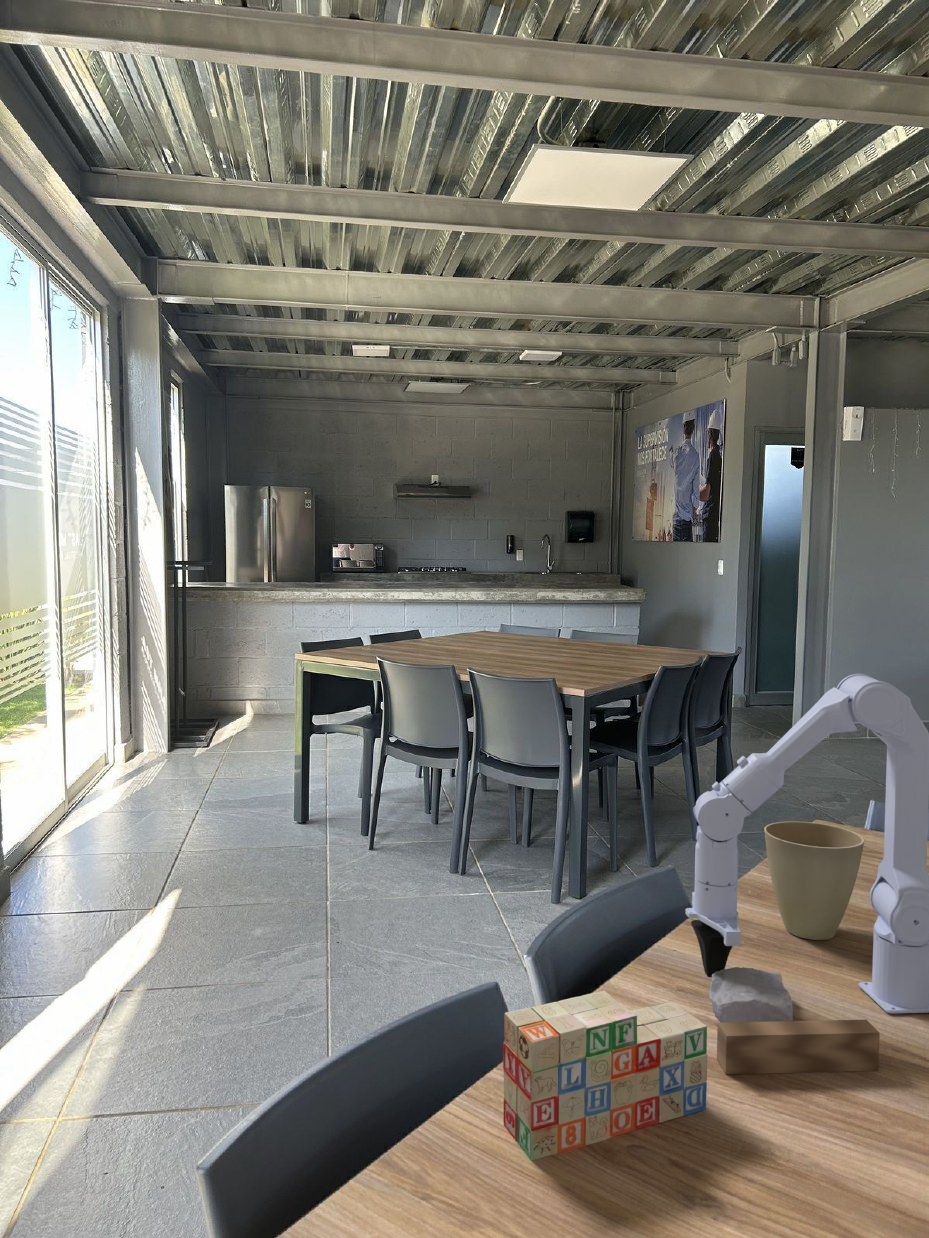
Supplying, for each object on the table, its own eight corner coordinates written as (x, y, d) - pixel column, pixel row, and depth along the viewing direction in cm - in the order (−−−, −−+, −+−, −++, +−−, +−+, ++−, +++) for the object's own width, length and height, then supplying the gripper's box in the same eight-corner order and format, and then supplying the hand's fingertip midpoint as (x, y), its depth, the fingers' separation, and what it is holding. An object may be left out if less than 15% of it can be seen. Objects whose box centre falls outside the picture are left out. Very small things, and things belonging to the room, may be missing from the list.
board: (865, 1056, 105) (866, 1019, 105) (878, 1070, 102) (879, 1032, 102) (716, 1059, 104) (717, 1022, 104) (725, 1074, 101) (726, 1035, 101)
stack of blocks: (671, 1080, 100) (673, 974, 100) (707, 1111, 94) (710, 998, 94) (501, 1125, 92) (503, 1010, 91) (529, 1162, 86) (531, 1039, 85)
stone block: (719, 1043, 111) (801, 1035, 110) (712, 1006, 111) (794, 996, 110) (708, 1002, 123) (782, 993, 121) (702, 967, 123) (776, 959, 121)
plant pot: (872, 954, 134) (876, 850, 133) (770, 946, 136) (772, 844, 135) (847, 916, 148) (850, 822, 147) (755, 910, 151) (757, 818, 150)
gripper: (672, 862, 129) (670, 953, 130) (704, 898, 115) (702, 1000, 116) (719, 861, 130) (717, 952, 130) (757, 898, 115) (755, 999, 116)
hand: (713, 975), depth 123 cm, fingers closed
